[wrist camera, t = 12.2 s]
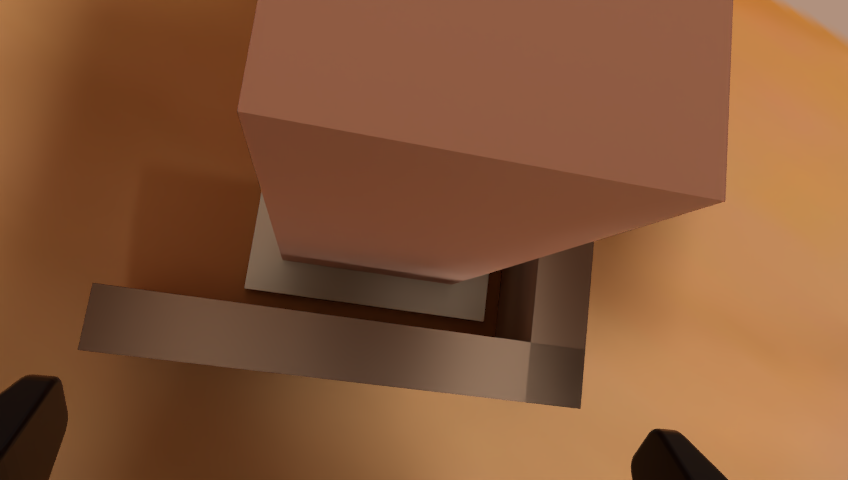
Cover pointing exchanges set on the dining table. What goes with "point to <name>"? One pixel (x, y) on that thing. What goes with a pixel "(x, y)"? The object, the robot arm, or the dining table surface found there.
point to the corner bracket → (369, 327)
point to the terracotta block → (481, 126)
